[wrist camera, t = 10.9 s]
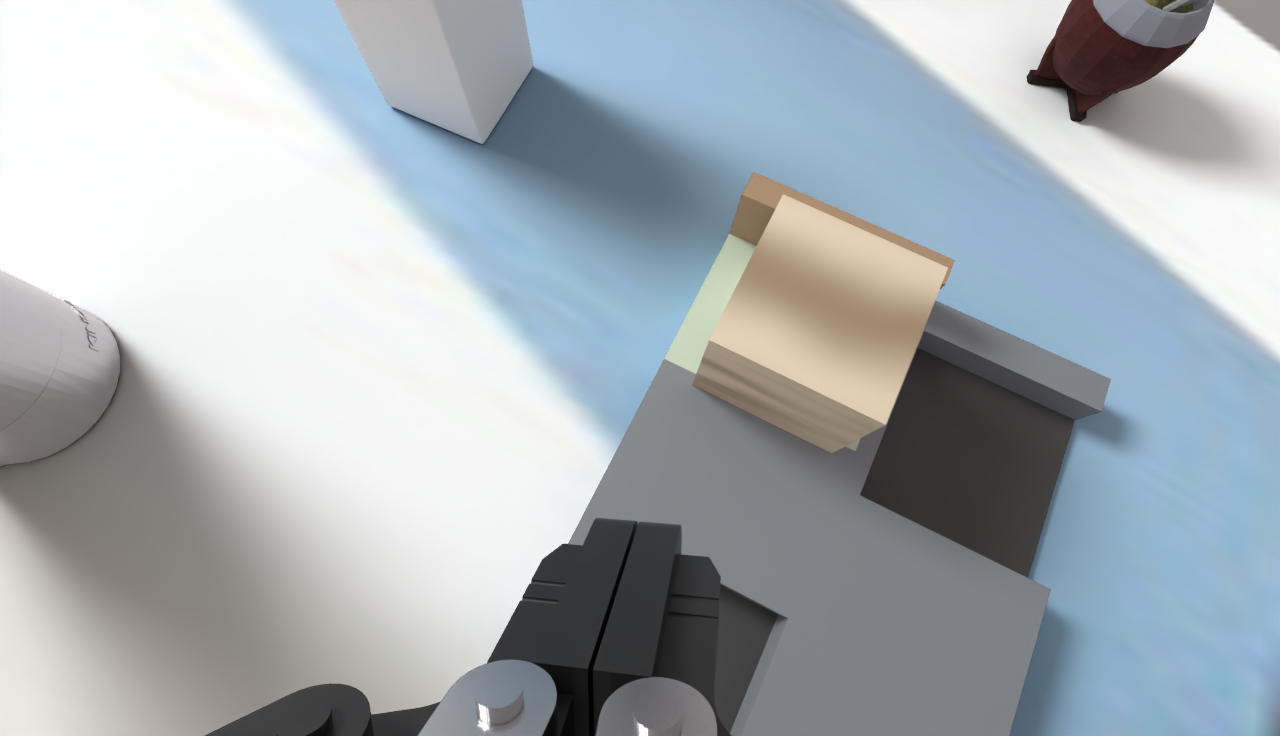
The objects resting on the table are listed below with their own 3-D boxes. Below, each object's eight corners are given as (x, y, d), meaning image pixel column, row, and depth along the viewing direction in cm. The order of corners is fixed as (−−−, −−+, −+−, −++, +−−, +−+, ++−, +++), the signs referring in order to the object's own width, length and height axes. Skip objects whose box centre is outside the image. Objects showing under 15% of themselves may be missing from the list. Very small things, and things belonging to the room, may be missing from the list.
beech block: (831, 453, 32) (885, 424, 26) (692, 384, 33) (709, 339, 27) (885, 324, 35) (948, 267, 28) (753, 263, 35) (783, 194, 29)
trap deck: (920, 919, 29) (1002, 1018, 22) (501, 681, 31) (471, 711, 25) (1078, 391, 36) (1172, 355, 30) (733, 234, 39) (753, 171, 33)
